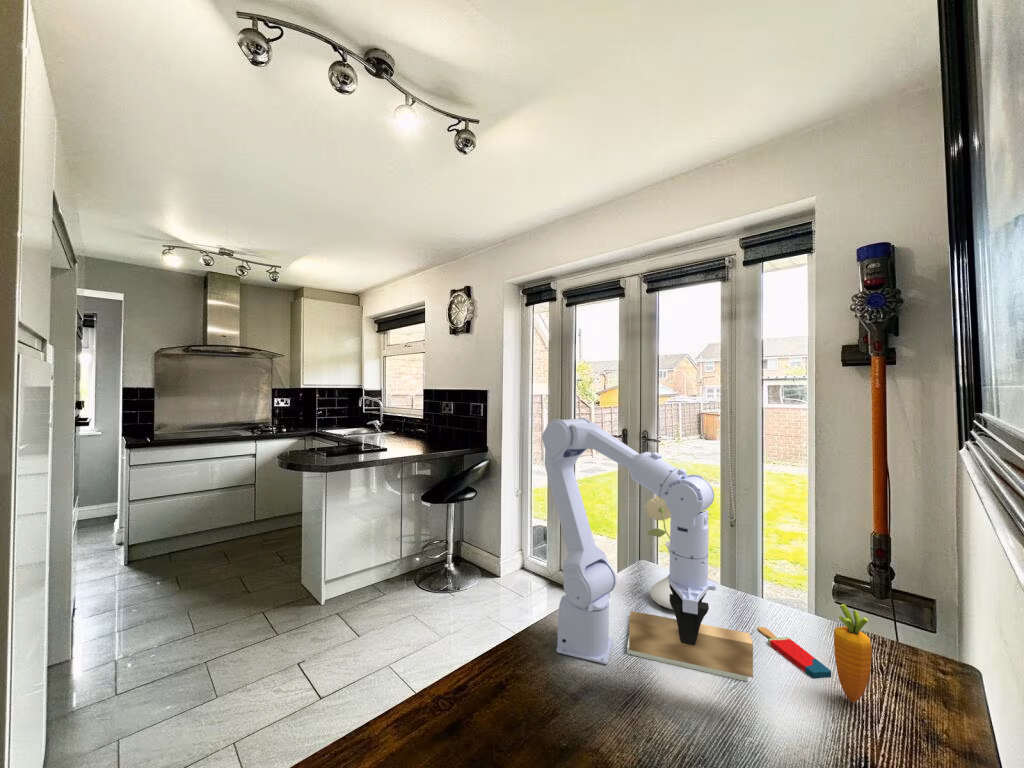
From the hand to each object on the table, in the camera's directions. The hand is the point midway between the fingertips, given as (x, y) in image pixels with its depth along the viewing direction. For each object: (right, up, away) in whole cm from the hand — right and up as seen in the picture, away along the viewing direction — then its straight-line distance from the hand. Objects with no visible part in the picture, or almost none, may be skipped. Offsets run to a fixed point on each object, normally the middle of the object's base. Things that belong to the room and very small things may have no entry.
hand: (687, 636), depth 68 cm
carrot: (+27, -11, 0) cm, 29 cm away
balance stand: (+5, -10, +14) cm, 18 cm away
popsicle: (+25, -11, +13) cm, 30 cm away
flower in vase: (+9, -11, +31) cm, 34 cm away
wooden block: (0, -3, 0) cm, 3 cm away
